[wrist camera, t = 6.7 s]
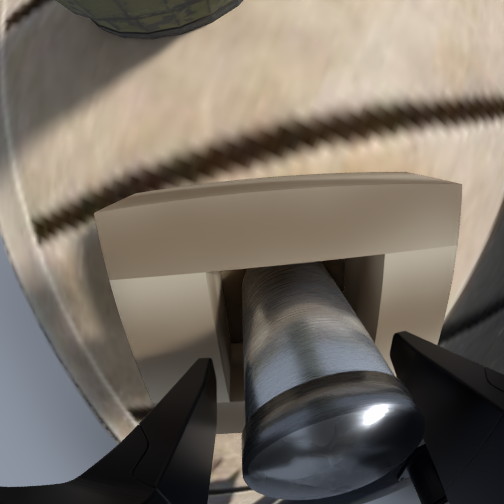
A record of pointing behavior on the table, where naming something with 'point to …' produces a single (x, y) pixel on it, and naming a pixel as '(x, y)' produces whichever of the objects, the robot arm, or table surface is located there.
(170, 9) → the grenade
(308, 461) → the key peg
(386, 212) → the block
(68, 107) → the table surface
